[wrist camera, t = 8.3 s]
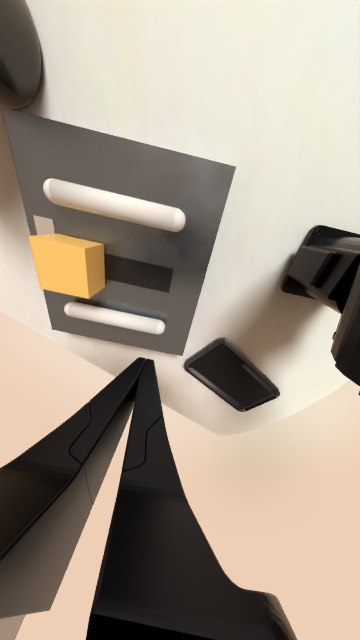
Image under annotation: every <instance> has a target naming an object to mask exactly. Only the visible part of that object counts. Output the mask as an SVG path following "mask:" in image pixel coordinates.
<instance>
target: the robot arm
mask: <svg viewBox="0 0 360 640" xmlns="http://www.w3.org/2000/svg"><path fill="white" fill-rule="evenodd" d="M317 229H319V232H318V233H317V234H316V230H317ZM287 273H288V274H287V276H286V278H285V280H284V281H283V283H282V285H281V290H282V291H283V292H286V293H290V294H295V295H299V296H303V297H308V298H312V299H317V300H319V301H320V302H322V303H324V304H325V305H327V306H328V307H330V308H332V309H333V310H335V311H337V312H338V313H340V314H341V318H340V321H339V324H338V327H337V330H336V332H334V334H333V337H332V338H333V340H334V341H333V344H332V348H331V353H332V355H333V358H334V360H335V361H336V364H335V366H336V368H337V369H338V370H339V371H340V372H341V373H342V374H343V375H345V376H346V377H347V378H349V379H350V380H351V381H353V382H354V383H356V384H357V385H359V386H360V234H356V233H352V232H348V231H343V230H339V229H335V228H331V227H327V226H323V225H317V226H314V227H313V228H312V229H311V231H310V233H309V235H308V237H307V238H306V240H305V242H304V244H303V246H302V247H301V248H300V249H299V251H298V253H297V255H296V257H295V258H294V260H293V262H292V264H291V266H290V268H289V270H288V272H287ZM286 286H288V288H287V289H285V287H286ZM359 395H360V391H359ZM133 407H134V408H133ZM132 409H133V413H132V419H131V424H130V429H129V435H128V440H127V445H126V451H125V456H124V461H123V467H122V473H121V478H120V483H119V488H118V493H117V498H116V502H115V506H114V511H113V515H112V519H111V524H110V528H109V533H108V537H107V542H106V546H105V551H104V555H103V560H102V564H101V569H100V573H99V578H98V582H97V586H96V591H95V595H94V600H93V604H92V608H91V613H90V617H89V623H88V630H87V636H86V640H297V638H296V636H295V634H294V632H293V630H292V628H291V626H290V623H289V621H288V619H287V617H286V615H285V613H284V611H283V609H282V607H281V604H280V602H279V600H278V599H277V597H276V596H274V595H272V594H270V593H265V592H259V591H253V590H246V589H243V588H240V587H238V586H237V585H236V584H234V583H233V582H232V581H231V580H230V579H229V578H228V576H227V575H226V574H225V573H224V571H223V570H222V567H221V566H220V564H219V562H218V560H217V558H216V556H215V554H214V552H213V550H212V548H211V547H210V544H209V543H208V541H207V539H206V537H205V535H204V533H203V531H202V529H201V527H200V525H199V523H198V521H197V519H196V517H195V515H194V514H193V511H192V509H191V508H190V506H189V503H188V501H187V499H186V496H185V493H184V490H183V488H182V485H181V481H180V478H179V475H178V472H177V468H176V465H175V462H174V458H173V455H172V452H171V448H170V445H169V441H168V437H167V432H166V428H165V423H164V417H163V411H162V406H161V400H160V394H159V388H158V382H157V376H156V370H155V365H154V360H151V359H145V358H141V357H139V358H137V359H136V360H135V361H134V362H133V363H132V364H131V365H129V366H128V367H127V368H126V369H125V370H124V371H123V372H122V373H120V374H119V375H118V376H117V377H116V378H115V379H114V380H113V381H111V382H110V383H109V384H108V385H107V386H106V387H105V388H104V389H102V390H101V391H100V392H99V393H98V394H97V395H96V396H94V397H93V398H92V399H91V400H90V401H89V402H88V403H87V404H85V405H84V406H83V407H82V408H81V409H80V410H79V411H77V412H76V413H75V414H74V415H73V416H71V417H70V418H69V419H68V420H66V421H65V422H64V423H63V424H61V425H60V426H59V427H58V428H56V429H55V430H53V431H52V432H51V433H49V434H48V435H47V436H45V437H44V438H43V439H41V440H40V441H39V442H37V443H36V444H35V445H33V446H32V447H30V448H29V449H28V450H26V451H25V452H24V453H22V454H21V455H20V456H19V457H17V458H16V459H14V460H12V461H11V462H10V463H8V464H6V465H5V466H3V467H1V468H0V640H15V638H16V636H17V633H18V631H19V628H20V626H21V624H22V622H23V619H24V617H25V615H26V614H31V613H37V612H43V611H49V610H50V608H51V606H52V604H53V601H54V599H55V596H56V594H57V591H58V589H59V587H60V584H61V581H62V579H63V577H64V575H65V572H66V570H67V567H68V565H69V562H70V560H71V558H72V555H73V552H74V550H75V548H76V545H77V543H78V540H79V538H80V536H81V533H82V531H83V528H84V526H85V523H86V521H87V519H88V516H89V514H90V511H91V509H92V506H93V504H94V502H95V499H96V497H97V494H98V492H99V489H100V487H101V484H102V482H103V479H104V477H105V475H106V472H107V470H108V467H109V465H110V462H111V460H112V458H113V455H114V453H115V451H116V448H117V446H118V443H119V441H120V438H121V436H122V433H123V431H124V429H125V426H126V423H127V421H128V419H129V416H130V414H131V411H132Z"/></svg>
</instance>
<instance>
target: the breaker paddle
mask: <svg viewBox="0 0 360 640" xmlns="http://www.w3.org/2000/svg"><path fill="white" fill-rule="evenodd" d="M28 237H29V241H30V245H31V250H32V254H33V258H34V262H35V267H36V271H37V275H38V279H39V284H40V288H41V289H45V290H50V291H54V292H59V293H64V294H68V295H73V296H78V297H82V298H87V299H89V298H91V297H92V296H93V295H95V294H96V293H98V292H99V291H100V290H102V289H103V288H105V265H104V244H101V243H97V242H92V241H88V240H84V239H79V238H75V237H70V236H66V235H62V234H47V235H34V236H28Z"/></svg>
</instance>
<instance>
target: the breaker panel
mask: <svg viewBox="0 0 360 640" xmlns="http://www.w3.org/2000/svg"><path fill="white" fill-rule="evenodd" d="M2 111H3V116H4V120H5V124H6V129H7V133H8V138H9V142H10V146H11V151H12V155H13V159H14V164H15V168H16V173H17V177H18V181H19V186H20V190H21V194H22V199H23V203H24V208H25V212H26V216H27V221H28V225H29V230H30V234H31V236H34V235H47V234H62V235H66V236H70V237H75V238H79V239H84V240H88V241H92V242H97V243H101V244H104V265H105V288H103V289H102V290H100V291H99V292H98V293H96V294H95V295H93V296H92V297H91V298H89V299H87V298H82V297H78V296H73V295H68V294H64V293H59V292H54V291H50V290H45V289H43V291H44V295H45V300H46V304H47V308H48V313H49V317H50V322H51V326H52V329H53V330H58V331H63V332H68V333H72V334H77V335H82V336H87V337H92V338H97V339H102V340H107V341H112V342H117V343H122V344H126V345H131V346H136V347H141V348H146V349H151V350H156V351H161V352H166V353H171V354H176V355H180V356H183V352H184V349H185V345H186V342H187V338H188V334H189V331H190V327H191V324H192V320H193V317H194V313H195V310H196V306H197V303H198V299H199V296H200V292H201V288H202V285H203V281H204V278H205V274H206V271H207V267H208V264H209V260H210V257H211V253H212V250H213V246H214V242H215V239H216V235H217V232H218V228H219V225H220V221H221V218H222V214H223V211H224V207H225V204H226V200H227V196H228V193H229V189H230V186H231V182H232V179H233V175H234V172H235V168H236V167H235V166H231V165H227V164H223V163H219V162H215V161H211V160H207V159H203V158H199V157H195V156H192V155H188V154H184V153H180V152H176V151H172V150H168V149H164V148H160V147H156V146H152V145H148V144H144V143H140V142H137V141H133V140H129V139H125V138H121V137H117V136H113V135H109V134H105V133H101V132H97V131H93V130H89V129H85V128H81V127H78V126H74V125H70V124H66V123H62V122H58V121H54V120H50V119H46V118H42V117H38V116H34V115H30V114H26V113H22V112H19V111H15V110H11V109H7V108H3V107H2ZM51 178H53V179H58V180H62V181H66V182H70V183H74V184H79V185H83V186H87V187H91V188H95V189H99V190H104V191H108V192H112V193H116V194H120V195H124V196H129V197H133V198H137V199H141V200H145V201H149V202H154V203H158V204H162V205H166V206H170V207H174V208H178V209H180V210H181V211H182V212H183V213H184V215H185V225H184V227H183V229H182V230H180V231H179V232H171V231H167V230H163V229H158V228H154V227H150V226H146V225H141V224H137V223H133V222H129V221H124V220H120V219H116V218H111V217H107V216H103V215H99V214H94V213H90V212H86V211H82V210H77V209H73V208H69V207H64V206H60V205H57V204H54V203H53V202H51V201H50V200H49V199H48V198H47V197H46V195H45V193H44V190H43V184H44V182H45V181H46V180H47V179H51ZM69 302H78V303H82V304H87V305H92V306H96V307H101V308H106V309H111V310H115V311H120V312H125V313H130V314H134V315H139V316H144V317H148V318H153V319H158V320H161V321H163V322H164V324H165V330H164V332H163V333H162V334H159V335H156V334H151V333H147V332H142V331H137V330H132V329H127V328H123V327H118V326H113V325H108V324H103V323H99V322H94V321H89V320H84V319H79V318H74V317H70V316H68V315H67V314H66V313H65V312H64V307H65V305H66V304H67V303H69Z"/></svg>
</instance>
